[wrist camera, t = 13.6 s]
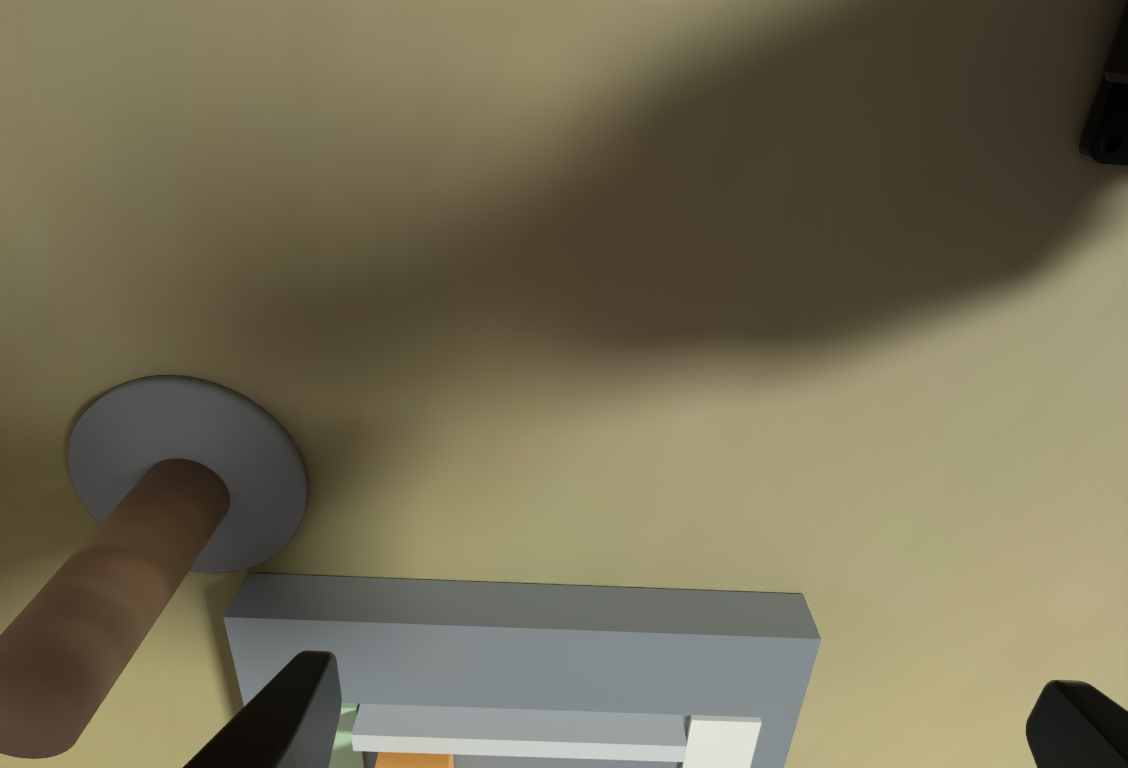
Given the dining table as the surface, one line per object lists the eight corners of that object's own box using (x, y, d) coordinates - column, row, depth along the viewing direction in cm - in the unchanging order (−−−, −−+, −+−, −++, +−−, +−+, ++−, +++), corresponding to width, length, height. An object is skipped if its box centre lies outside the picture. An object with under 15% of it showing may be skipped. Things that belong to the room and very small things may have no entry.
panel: (802, 594, 25) (833, 669, 22) (742, 822, 31) (760, 904, 28) (247, 573, 25) (206, 647, 22) (296, 807, 31) (268, 889, 28)
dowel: (222, 459, 22) (61, 674, 15) (236, 528, 23) (93, 759, 16) (134, 456, 22) (-71, 672, 15) (153, 526, 23) (-29, 757, 16)
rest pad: (293, 380, 21) (286, 389, 21) (320, 564, 24) (314, 576, 24) (52, 370, 21) (38, 379, 21) (110, 556, 24) (100, 568, 24)
